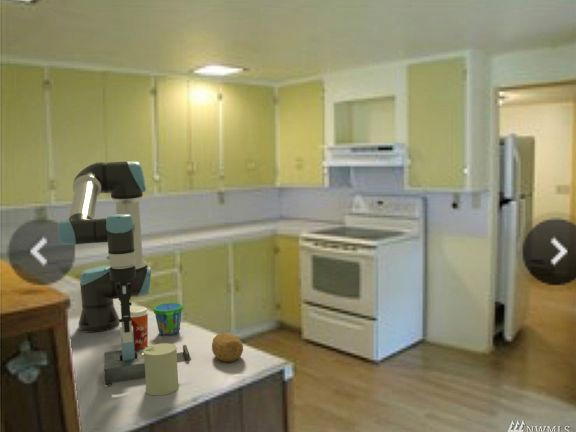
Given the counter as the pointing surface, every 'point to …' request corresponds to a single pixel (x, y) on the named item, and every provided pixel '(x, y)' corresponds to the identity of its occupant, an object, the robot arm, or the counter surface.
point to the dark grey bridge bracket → (183, 355)
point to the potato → (227, 347)
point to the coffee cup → (139, 326)
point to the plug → (128, 348)
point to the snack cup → (168, 318)
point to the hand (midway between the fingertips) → (127, 334)
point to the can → (161, 369)
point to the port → (123, 366)
